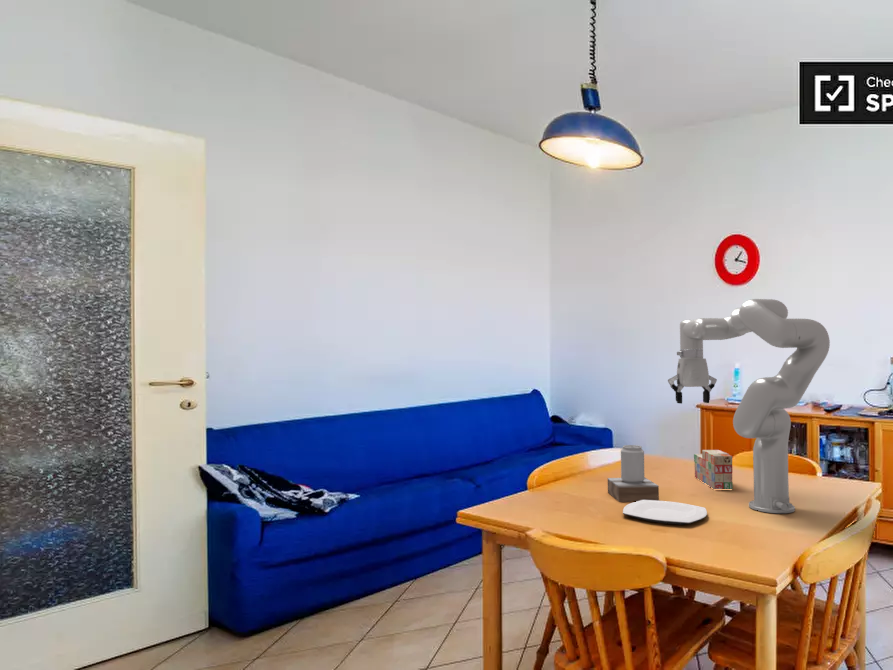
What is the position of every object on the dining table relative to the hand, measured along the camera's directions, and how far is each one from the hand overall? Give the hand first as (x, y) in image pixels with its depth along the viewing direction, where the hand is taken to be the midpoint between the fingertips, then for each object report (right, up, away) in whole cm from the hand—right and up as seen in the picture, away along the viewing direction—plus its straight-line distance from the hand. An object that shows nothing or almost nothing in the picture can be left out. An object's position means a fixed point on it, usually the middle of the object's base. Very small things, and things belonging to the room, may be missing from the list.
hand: (692, 402), depth 222 cm
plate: (-22, -30, -36) cm, 52 cm away
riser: (-25, -30, -12) cm, 41 cm away
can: (-25, -25, -12) cm, 37 cm away
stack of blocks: (+9, -30, +6) cm, 32 cm away
